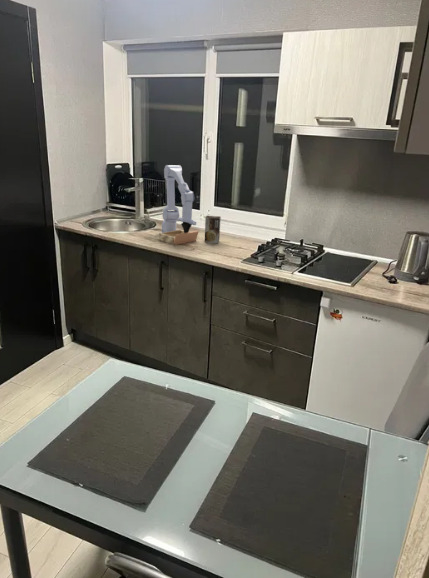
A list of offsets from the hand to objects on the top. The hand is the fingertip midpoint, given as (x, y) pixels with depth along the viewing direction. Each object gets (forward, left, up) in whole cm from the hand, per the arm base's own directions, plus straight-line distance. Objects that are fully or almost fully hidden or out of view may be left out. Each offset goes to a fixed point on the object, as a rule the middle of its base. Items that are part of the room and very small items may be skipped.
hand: (186, 234), depth 260 cm
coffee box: (+7, +16, -6) cm, 18 cm away
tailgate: (-1, 0, -5) cm, 5 cm away
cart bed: (-8, 0, -6) cm, 10 cm away
